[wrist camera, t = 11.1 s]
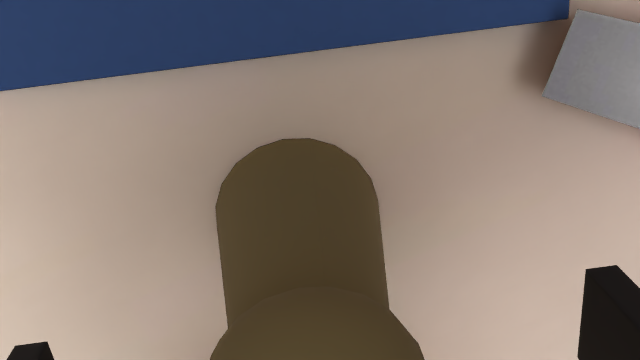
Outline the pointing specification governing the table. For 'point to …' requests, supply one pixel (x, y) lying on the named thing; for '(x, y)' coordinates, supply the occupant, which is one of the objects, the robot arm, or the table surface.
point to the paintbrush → (599, 68)
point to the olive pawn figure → (304, 259)
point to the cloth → (221, 31)
